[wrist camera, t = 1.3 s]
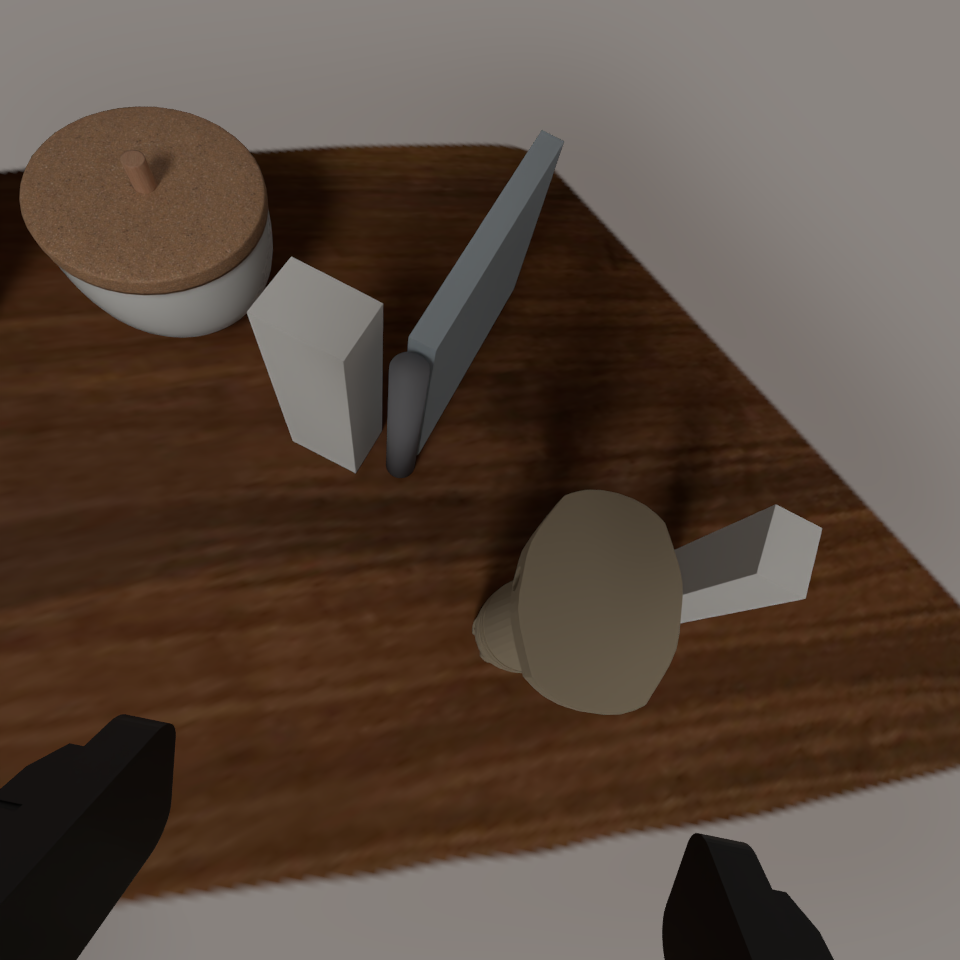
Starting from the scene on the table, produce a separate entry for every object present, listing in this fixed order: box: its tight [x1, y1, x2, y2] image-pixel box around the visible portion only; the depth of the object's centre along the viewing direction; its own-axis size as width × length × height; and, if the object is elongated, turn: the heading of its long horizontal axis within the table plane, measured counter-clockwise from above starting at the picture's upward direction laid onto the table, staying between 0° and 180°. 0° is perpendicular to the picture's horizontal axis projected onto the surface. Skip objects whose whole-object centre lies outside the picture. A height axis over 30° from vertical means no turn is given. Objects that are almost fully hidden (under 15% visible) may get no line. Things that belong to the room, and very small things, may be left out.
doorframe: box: [247, 257, 822, 623], centre depth 27 cm, size 23×3×12 cm, turn 64°
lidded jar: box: [19, 107, 273, 338], centre depth 30 cm, size 11×11×9 cm
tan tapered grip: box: [472, 490, 683, 715], centre depth 23 cm, size 5×6×15 cm
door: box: [386, 130, 564, 478], centre depth 30 cm, size 15×2×11 cm, turn 154°
